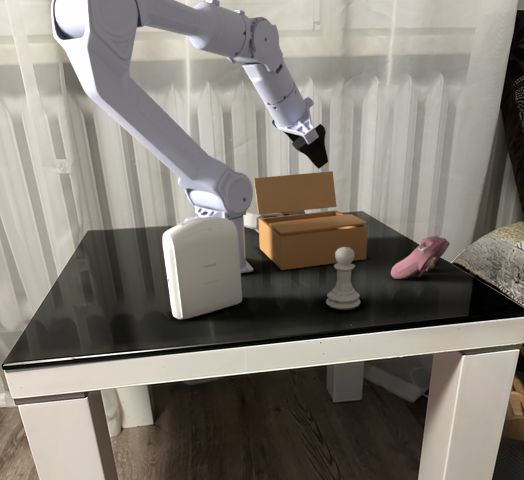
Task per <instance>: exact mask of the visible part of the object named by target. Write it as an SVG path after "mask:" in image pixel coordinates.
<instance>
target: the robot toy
mask: <svg viewBox="0 0 524 480" xmlns="http://www.w3.org/2000/svg"><path fill="white" fill-rule="evenodd" d="M306 213H307V212H306V210H302V211H292V212H283V213H273V214H264V215H258V208H257V204H255V205H250V206H249V208H248V209H247V210H246V215H243V216H244V228H247V229H250V230H254V231H256V232H257V233H258V234H259V219H260V218H269V217H278V216H288V215H297V214H306Z"/></svg>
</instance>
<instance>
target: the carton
mask: <svg viewBox="0 0 524 480" xmlns="http://www.w3.org/2000/svg"><path fill="white" fill-rule="evenodd" d="M305 213H306V214H297V215H288V216H278V217H269V218H260V219H259V233H258V237H259V238H258V239H259V250H261V252H263V254H265V256H267V257H268V258H269V259H270V260H271V261H272V262H273V263H274V264H275V265H276V266H277V267H278V268H279V269H280V270H281V271H285V270H293V269H301V268H309V267H316V266H324V265H333V264H337V263H338V262H337V261H336V258H335V253H336V251H337V249H339V248H341V247H349V248H351V249H352V250H353V251H354V259H353V261H352V262H354V261H361V260H362V261H363V260H367V253H368V252H367V251H368V230H369V227H368V226H367V225H368V223H369V222H368V221H365V220H363V218H360V217H358V216H356V215H354V214H351V213H350V214H349V213H347V214H344V213H342V212H341V211H339V210H335V209H334V210H326V211H316V212H308V213H307V212H305Z"/></svg>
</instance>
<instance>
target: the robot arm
mask: <svg viewBox="0 0 524 480" xmlns="http://www.w3.org/2000/svg"><path fill="white" fill-rule="evenodd" d="M220 3H221V2H220V0H205V1H200V2H197V4H196V5H195V6H193V7H192V6H190V5H187V4H185V3H182V2H180V1H177V0H51V4H50V16H51V17H50V18H51V24H52V25H51V27H52V36H53V38H54V40H55V41H56V42H57V43H58V44H59V45H60V47H62V48H63V50H64V51H65V53H66V56H67V57H68V59H69V62H70V64H71V66H72V68H73V70H74V73H75V74H76V77H77V78H78V81H79V84H80V85H81V88H82V89H83V92H84V93H85V94H86V96H88V98H89V99H90V100H91V101H92V102H93V103H95V104H96V105H97V106H98V107H99V108H100V109H102V110H103V111H104V112H105V113H106V115H108V116H109V117H111V119H112V120H114V121H115V122H116V123H117V124H118V125H120V126H121V127H122V128H123V129H124V130H125V131H126V132H127V133H129V135H130V136H132V137H133V138H134V139H135V140H136V141H138V143H139V144H141V145H142V146H143V147H144V148H145V149H146V150H148V151H149V152H150V154H152V155H153V156H154V157H155V158H157V160H159V161H160V162H161V163H162V164H163V165H165V167H167V168H168V169H169V170H170V171H171V172H172V173H173V174H175V175H176V176H177V177H178V180H177V185H178V186H179V187H180V188H181V189H182V190H183V192H184V193H185V195H186V198H187V200H188V202H189V203H190V204H191V205H192V206H193V207H194V212H195V214H196V216H193V217H192V216H191V217H186V218H185V219H184V222H186V221H189V220H192V219H197V218H203V217H219V218H225V219H228V220H230V221H233V223H234V224H235V226H236V229H237V233H238V242H239V256H240V270H241V274H246V273H252V272H254V267H253V266H252V265H251V264H250V263H249V261H247V258H246V256H247V255H246V239H245V238H246V237H245V227H244V216H243V215H246V210H247V209H248V208H249V206H251V204H252V201H253V197H254V188H253V183H252V181H251V179H250V178H249V176H248V175H246V174H245V173H243V172H240V171H236V170H234V169H233V168H232V167H230V166H229V165H228V164H227V163H225V162H222V161H221V160H219V159H217V158H214V157H212V156H211V155H209V154H208V153H207V152H206V151H205V149H203V148H202V147H201V146H200V144H198V143H197V142H196V141H195V140H194V139H193V138H192V136H190V135H189V134H188V133H187V132H186V131H185V130H184V129H183V128H182V127H181V126H180V125H179V124H178V123H177V122H176V121H175V120H174V119H173V118H172V117H171V116H170V115H169V114H168V113H167V112H166V111H165V110H164V109H163V108H162V107H161V106H160V105H159V104H158V102H156V101H155V100H154V99H153V98H152V97H151V96H150V95H149V94H148V93H147V92H146V91H145V90H144V89H143V88H142V87H141V85H139V84H138V83H137V81H135V80H134V79H133V78H132V77H131V73H130V67H131V62H132V56H133V51H134V45H135V40H136V39H135V38H136V34H137V30H138V28H143V27H148V28H154V29H157V30H161V31H165V32H170V33H175V34H177V35H178V34H179V35H184V36H187V37H188V39H189V42H190V43H191V45H192V46H193V48H195V49H196V50H199V51H203V52H207V53H210V54H213V55H217V56H222V57H224V58H225V57H226V59H227V60H228V61H229V62H230V63H231V64H232V65H233V64H241V66H242V68H243V70H244V71H245V74H246V75H247V77H248V78H249V80H250V81H251V83H252V86H253V87H254V89H255V90H256V92H257V94H258V95H259V97H260V98H261V99H260V100H262V102H263V103H264V106H265V107H266V109H267V111H268V113H269V114H270V116H271V117H272V121H271V124H272V126H274V127H275V128H276V129H277V130H278V131H280V132H283V133H284V134H285V135H286V136H287V137H288V138H289V139H290V141H291V145H292V147H293V148H294V149H295V150H296V151H298V152H300V153H302V154H303V155H305V156H306V157H307V158H308V159H309V161H310V162H311V163H312V164H313V166H315V167H316V169H321V168H322V167H324V166H325V165H326V164H328V163H329V157H328V152H327V148H326V133H327V132H326V128H325V126H324V125H323V124H322V123H319V124H318V125H317V126H315V127H314V125H313V121H312V114H311V110H310V109H311V107H313V106H314V105H315V103H314V101H313V99H312V98H311V97H309V96H307V97H305V98H303V96H302V94H301V91H300V90H299V88H298V85H297V84H296V82H295V80H294V77H293V76H292V75H291V72H290V70H289V69H288V66H287V65H286V63H285V61H284V57H283V56H284V52H283V51H282V49H281V47H280V46H281V45H280V35H279V29H278V27H277V24H272V23H271V22H270V21H269V20H268V19H267V18H266V17H263V16H256V17H248V16H247V15H246V12H245V11H244V10H242V9H234V10H232V9H228V8H226V7H223V6H221V5H220Z"/></svg>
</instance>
